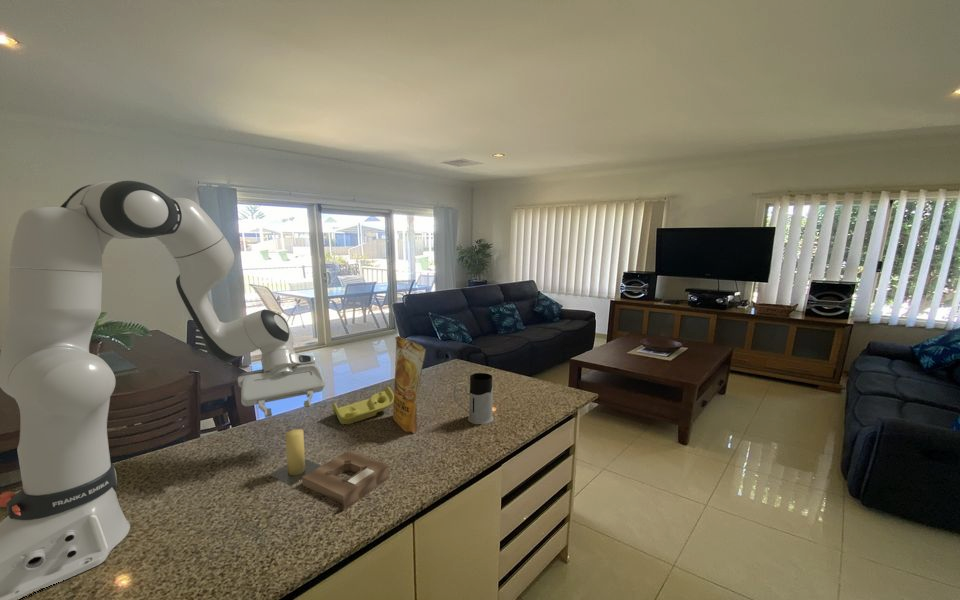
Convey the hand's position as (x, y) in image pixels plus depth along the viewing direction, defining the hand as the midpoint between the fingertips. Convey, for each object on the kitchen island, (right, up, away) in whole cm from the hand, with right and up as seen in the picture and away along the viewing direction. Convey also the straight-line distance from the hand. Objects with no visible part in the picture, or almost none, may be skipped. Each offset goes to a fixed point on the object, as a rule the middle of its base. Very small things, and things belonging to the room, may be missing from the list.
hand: (288, 412), depth 99 cm
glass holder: (+48, -11, +28) cm, 57 cm away
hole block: (+18, -15, -7) cm, 25 cm away
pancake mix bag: (+26, -12, +26) cm, 39 cm away
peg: (+4, -13, -4) cm, 15 cm away
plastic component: (+10, -11, +32) cm, 36 cm away
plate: (+4, -15, -4) cm, 16 cm away
